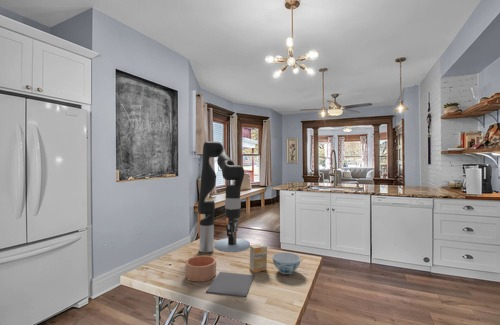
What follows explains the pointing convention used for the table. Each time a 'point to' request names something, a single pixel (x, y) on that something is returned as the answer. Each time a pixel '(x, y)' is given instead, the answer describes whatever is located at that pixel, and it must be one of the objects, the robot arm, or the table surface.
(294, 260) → the chinaware
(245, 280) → the mat
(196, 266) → the bowl
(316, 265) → the table surface
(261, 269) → the supplement box
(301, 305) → the table surface
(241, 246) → the lid
